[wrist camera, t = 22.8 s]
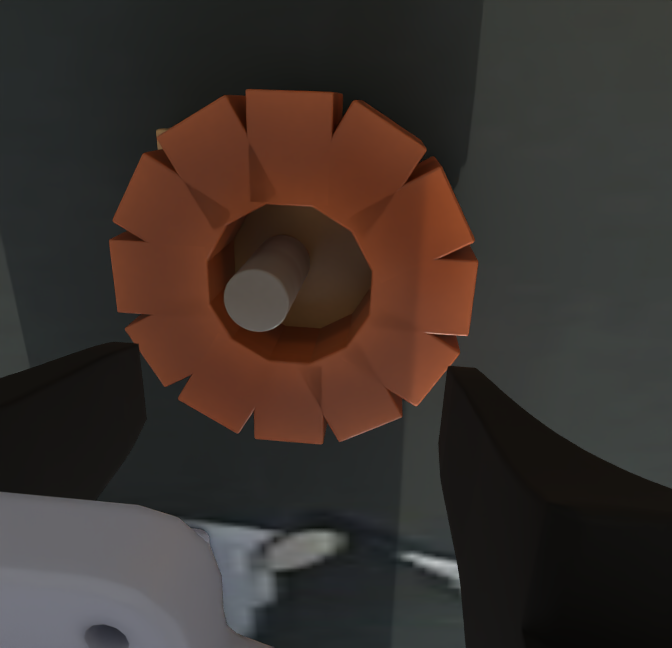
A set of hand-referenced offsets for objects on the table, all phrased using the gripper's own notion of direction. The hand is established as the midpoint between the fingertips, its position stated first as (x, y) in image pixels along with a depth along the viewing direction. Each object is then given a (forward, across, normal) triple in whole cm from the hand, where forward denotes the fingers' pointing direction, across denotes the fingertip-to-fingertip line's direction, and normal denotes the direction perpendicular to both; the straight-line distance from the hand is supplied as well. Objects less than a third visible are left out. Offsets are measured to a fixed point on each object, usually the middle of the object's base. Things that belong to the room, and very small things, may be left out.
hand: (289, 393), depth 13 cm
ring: (+9, +1, -1) cm, 9 cm away
